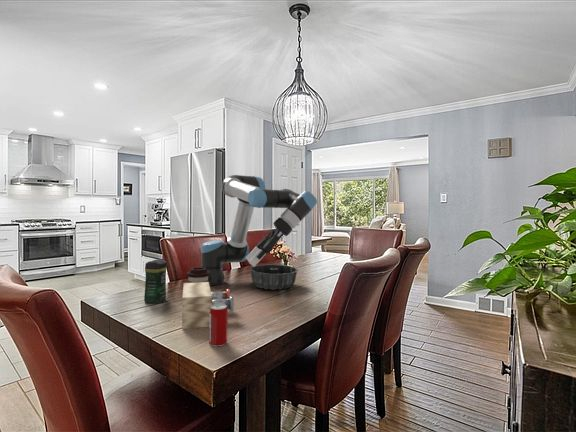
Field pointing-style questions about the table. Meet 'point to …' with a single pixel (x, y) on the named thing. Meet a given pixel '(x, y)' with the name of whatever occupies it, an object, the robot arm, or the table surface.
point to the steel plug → (225, 303)
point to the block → (196, 305)
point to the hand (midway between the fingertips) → (249, 262)
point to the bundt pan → (273, 276)
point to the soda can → (218, 325)
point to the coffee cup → (198, 275)
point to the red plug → (221, 294)
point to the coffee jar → (155, 281)
